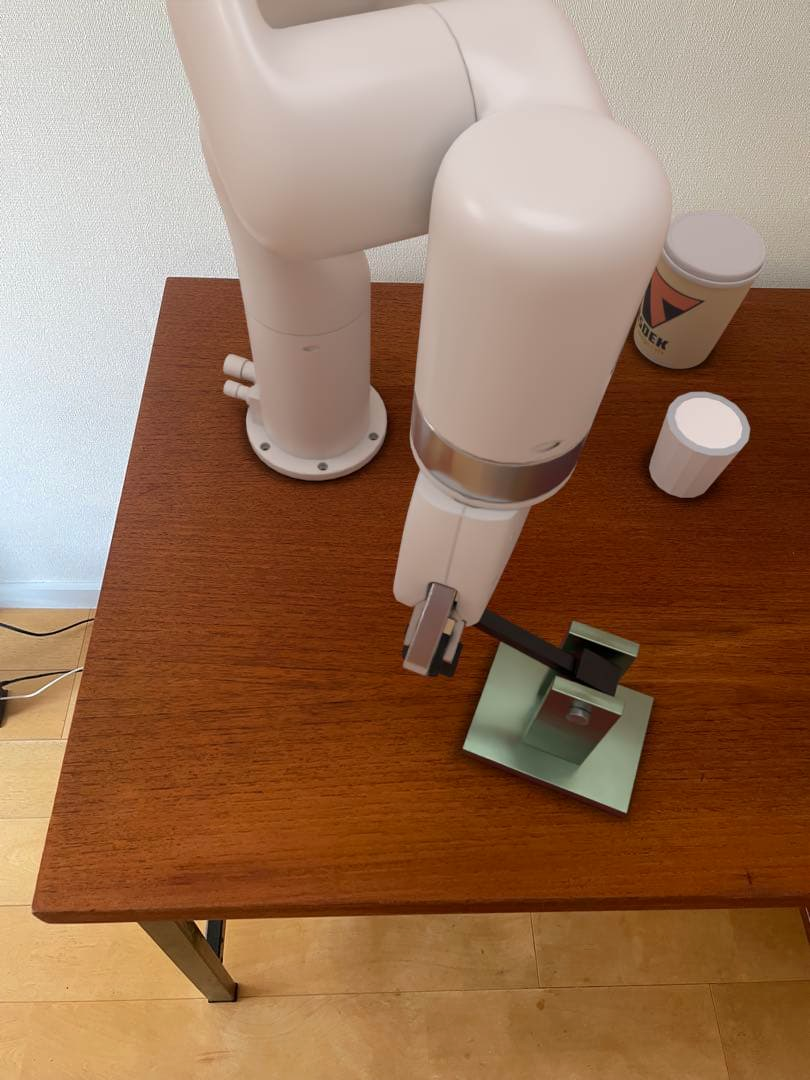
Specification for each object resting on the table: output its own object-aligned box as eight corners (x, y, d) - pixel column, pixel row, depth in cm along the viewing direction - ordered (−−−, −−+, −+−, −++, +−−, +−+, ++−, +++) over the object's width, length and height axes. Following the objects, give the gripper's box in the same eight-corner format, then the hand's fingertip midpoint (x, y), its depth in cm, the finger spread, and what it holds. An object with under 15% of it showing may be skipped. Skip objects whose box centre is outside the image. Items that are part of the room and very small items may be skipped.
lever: (417, 643, 49) (431, 632, 47) (450, 564, 52) (465, 550, 50) (586, 733, 50) (607, 726, 48) (608, 651, 53) (629, 641, 51)
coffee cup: (609, 317, 82) (644, 216, 71) (690, 301, 83) (736, 200, 73) (650, 384, 77) (694, 285, 67) (735, 365, 79) (790, 266, 69)
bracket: (460, 753, 58) (480, 695, 48) (498, 647, 62) (524, 573, 52) (622, 817, 56) (679, 771, 46) (649, 702, 60) (706, 637, 50)
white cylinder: (658, 430, 74) (684, 378, 68) (728, 462, 73) (761, 412, 67) (630, 481, 71) (654, 431, 65) (703, 516, 69) (735, 468, 63)
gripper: (480, 266, 39) (446, 469, 54) (337, 550, 31) (343, 699, 45) (629, 312, 38) (553, 506, 53) (523, 619, 30) (468, 748, 44)
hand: (456, 595), depth 49 cm, fingers open, 9 cm apart
